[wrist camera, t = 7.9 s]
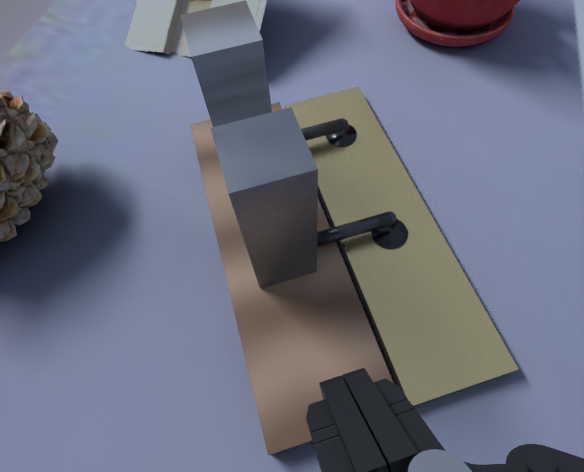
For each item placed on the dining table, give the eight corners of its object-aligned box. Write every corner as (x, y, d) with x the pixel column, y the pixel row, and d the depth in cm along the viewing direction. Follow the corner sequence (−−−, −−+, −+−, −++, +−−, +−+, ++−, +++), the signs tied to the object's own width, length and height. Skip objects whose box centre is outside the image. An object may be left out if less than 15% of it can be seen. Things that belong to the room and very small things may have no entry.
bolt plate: (511, 372, 24) (519, 368, 23) (406, 408, 24) (410, 406, 23) (357, 95, 37) (358, 85, 36) (285, 113, 36) (284, 104, 35)
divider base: (467, 387, 24) (593, 332, 13) (270, 455, 23) (230, 455, 12) (326, 103, 37) (331, -47, 26) (194, 137, 35) (140, -5, 24)
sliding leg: (406, 244, 27) (455, 131, 18) (259, 288, 26) (228, 193, 17) (383, 198, 29) (416, 75, 20) (245, 238, 28) (210, 127, 19)
